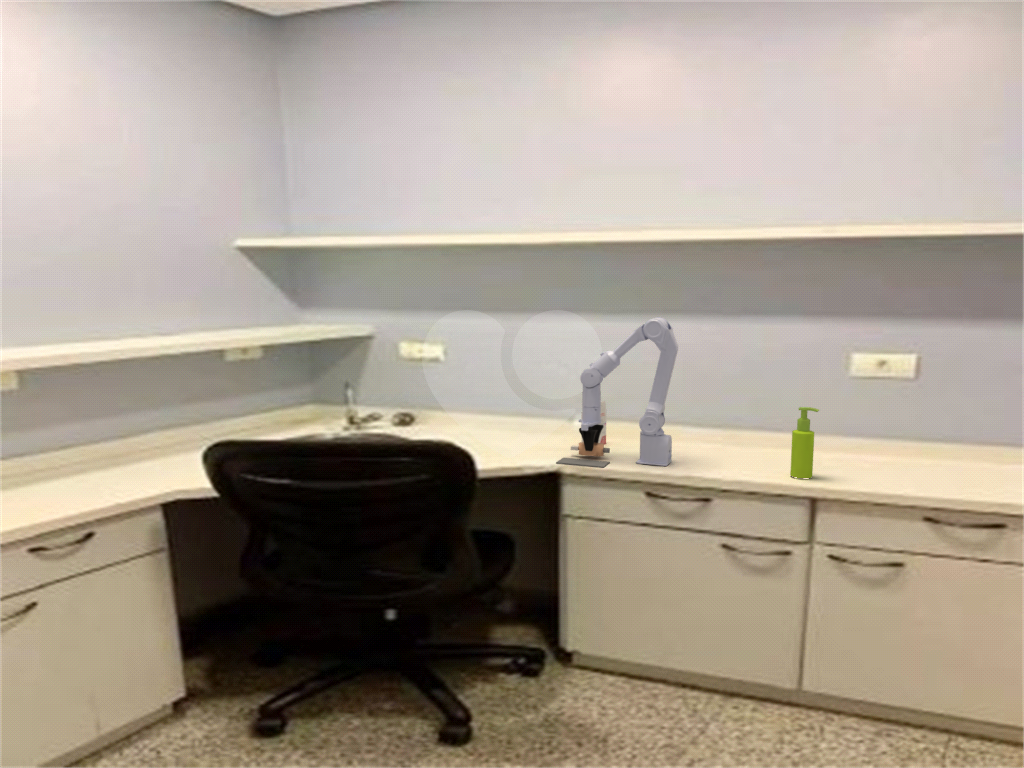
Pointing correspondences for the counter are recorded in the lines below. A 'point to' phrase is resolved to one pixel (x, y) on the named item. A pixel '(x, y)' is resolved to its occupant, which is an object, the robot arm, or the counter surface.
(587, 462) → the mat
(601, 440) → the ink cartridge box
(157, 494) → the counter surface
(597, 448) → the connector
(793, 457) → the soap dispenser
